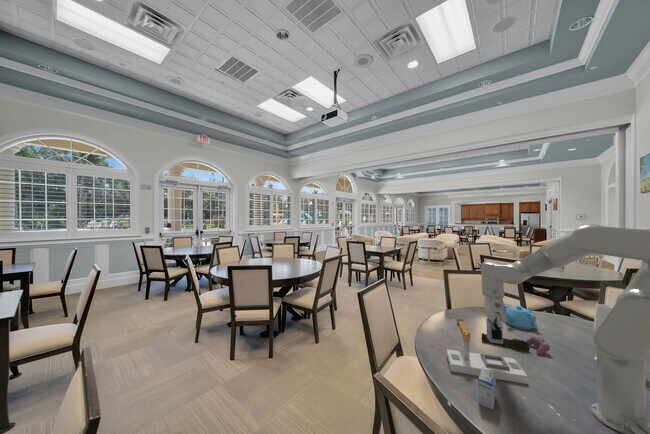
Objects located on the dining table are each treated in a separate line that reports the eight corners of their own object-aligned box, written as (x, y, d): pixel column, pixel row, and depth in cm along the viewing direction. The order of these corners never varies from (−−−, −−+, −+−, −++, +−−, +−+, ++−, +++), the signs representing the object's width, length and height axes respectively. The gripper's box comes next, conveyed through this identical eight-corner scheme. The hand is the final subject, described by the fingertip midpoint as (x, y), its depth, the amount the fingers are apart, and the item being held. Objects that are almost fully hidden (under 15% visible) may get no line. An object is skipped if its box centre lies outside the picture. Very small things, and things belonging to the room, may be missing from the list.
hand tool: (481, 342, 123) (481, 333, 124) (481, 339, 127) (481, 330, 127) (529, 354, 112) (529, 344, 112) (529, 350, 115) (529, 341, 115)
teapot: (497, 317, 153) (497, 300, 153) (531, 321, 146) (531, 303, 146) (504, 328, 139) (504, 308, 139) (542, 333, 132) (542, 312, 132)
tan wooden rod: (463, 324, 118) (462, 319, 118) (471, 341, 102) (470, 335, 102) (456, 323, 119) (456, 318, 119) (463, 340, 103) (463, 334, 103)
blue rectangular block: (503, 343, 97) (502, 323, 98) (490, 342, 99) (489, 322, 99) (499, 338, 101) (498, 319, 102) (487, 337, 103) (486, 318, 103)
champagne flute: (611, 366, 101) (610, 309, 102) (590, 358, 108) (588, 304, 108) (621, 363, 103) (619, 307, 104) (600, 355, 110) (598, 302, 110)
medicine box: (481, 391, 88) (480, 367, 88) (496, 396, 85) (495, 372, 86) (478, 404, 82) (477, 378, 82) (494, 410, 79) (493, 384, 80)
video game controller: (546, 359, 110) (554, 346, 110) (536, 354, 111) (544, 340, 110) (532, 348, 120) (538, 335, 119) (522, 343, 120) (529, 331, 120)
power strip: (527, 384, 92) (527, 354, 92) (451, 371, 100) (450, 344, 100) (514, 365, 103) (513, 339, 103) (446, 355, 111) (446, 331, 112)
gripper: (511, 298, 91) (514, 347, 91) (496, 287, 107) (498, 328, 107) (488, 297, 94) (490, 345, 93) (476, 286, 110) (478, 326, 109)
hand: (494, 335), depth 100 cm, fingers closed on blue rectangular block, 4 cm apart
